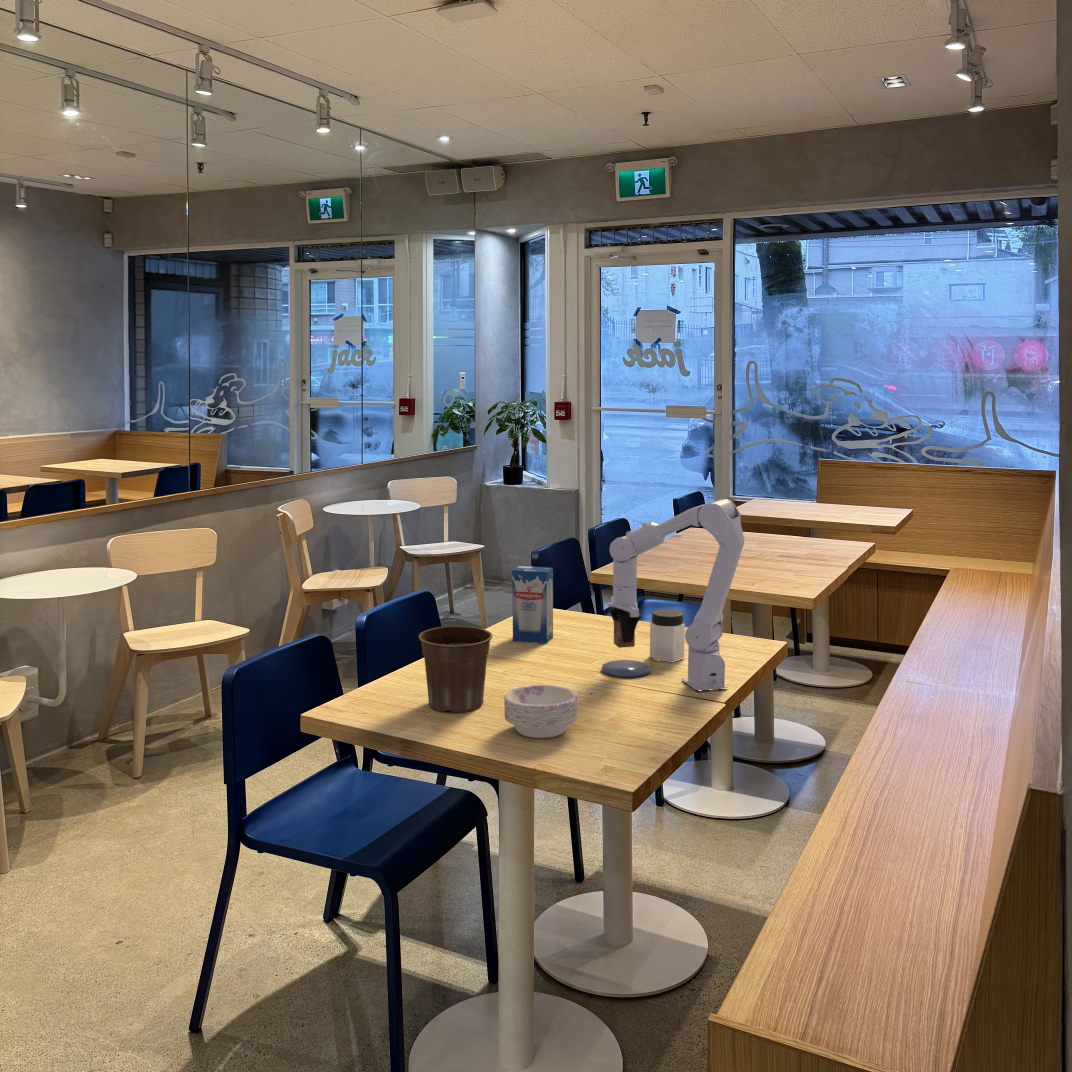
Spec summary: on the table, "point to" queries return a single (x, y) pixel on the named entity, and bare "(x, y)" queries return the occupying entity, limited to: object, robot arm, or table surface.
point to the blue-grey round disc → (626, 668)
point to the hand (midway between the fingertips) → (624, 639)
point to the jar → (667, 635)
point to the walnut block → (618, 636)
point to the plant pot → (455, 666)
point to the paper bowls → (541, 710)
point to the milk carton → (532, 604)
